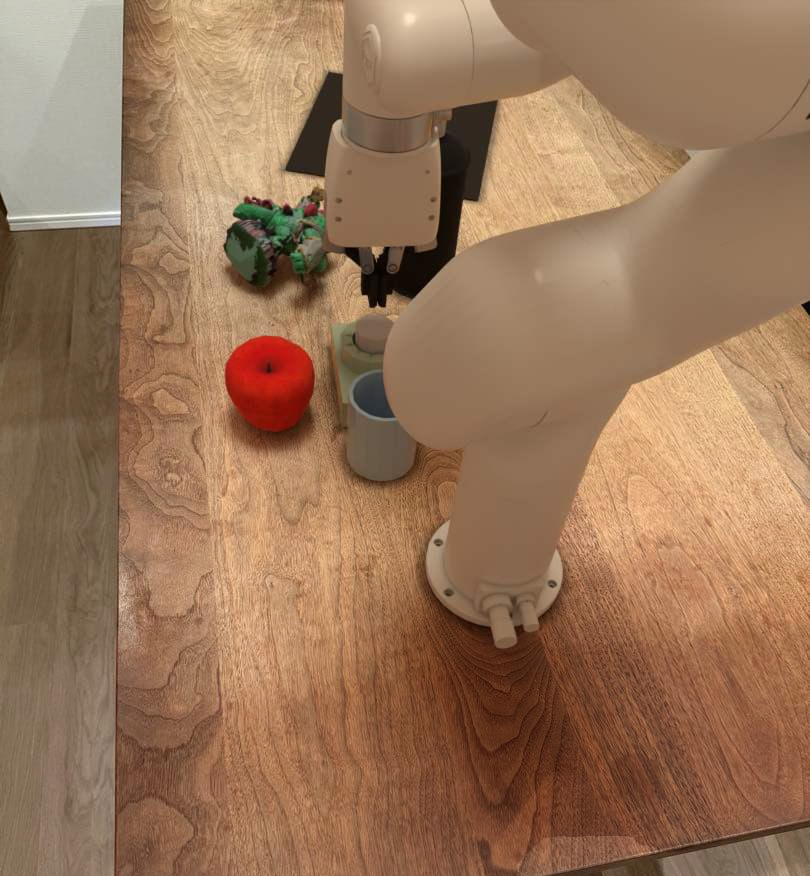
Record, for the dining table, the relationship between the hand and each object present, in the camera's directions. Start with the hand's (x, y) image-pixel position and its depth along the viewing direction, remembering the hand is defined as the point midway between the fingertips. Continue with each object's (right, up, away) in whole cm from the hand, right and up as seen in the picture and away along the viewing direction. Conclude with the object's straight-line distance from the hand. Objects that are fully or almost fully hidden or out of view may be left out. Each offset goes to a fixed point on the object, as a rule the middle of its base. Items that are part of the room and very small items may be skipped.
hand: (375, 298), depth 86 cm
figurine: (-11, +9, +19) cm, 24 cm away
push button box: (-1, -7, +8) cm, 11 cm away
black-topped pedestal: (+2, +34, +39) cm, 52 cm away
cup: (0, -15, +2) cm, 15 cm away
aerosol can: (+5, +8, +19) cm, 21 cm away
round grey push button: (0, -3, +4) cm, 5 cm away
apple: (-11, -11, +4) cm, 16 cm away
